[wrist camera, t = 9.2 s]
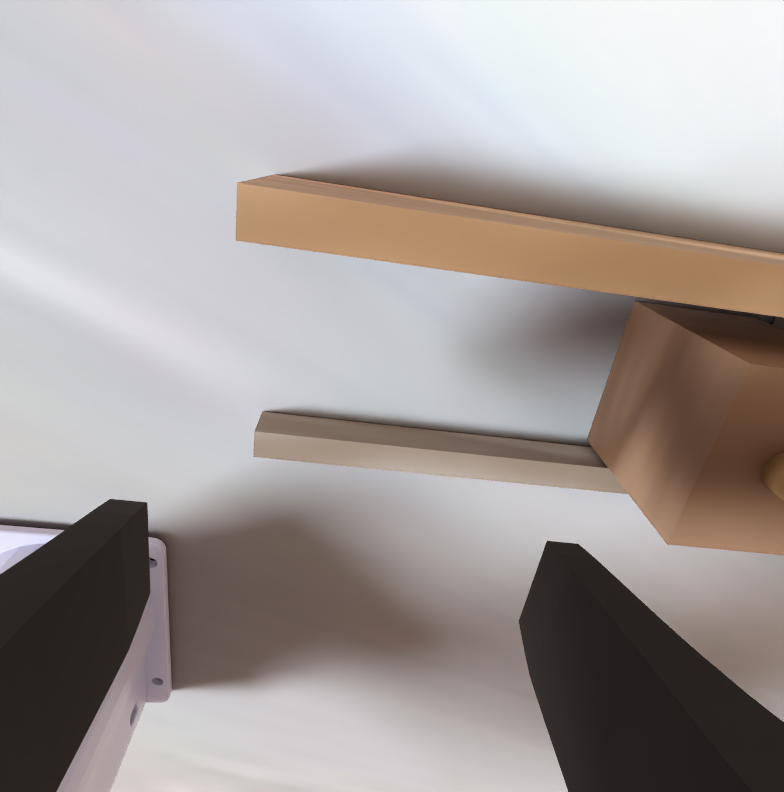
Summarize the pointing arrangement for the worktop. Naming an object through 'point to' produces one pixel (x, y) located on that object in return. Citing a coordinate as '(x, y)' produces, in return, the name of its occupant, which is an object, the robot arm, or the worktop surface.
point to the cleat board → (498, 257)
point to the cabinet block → (698, 426)
